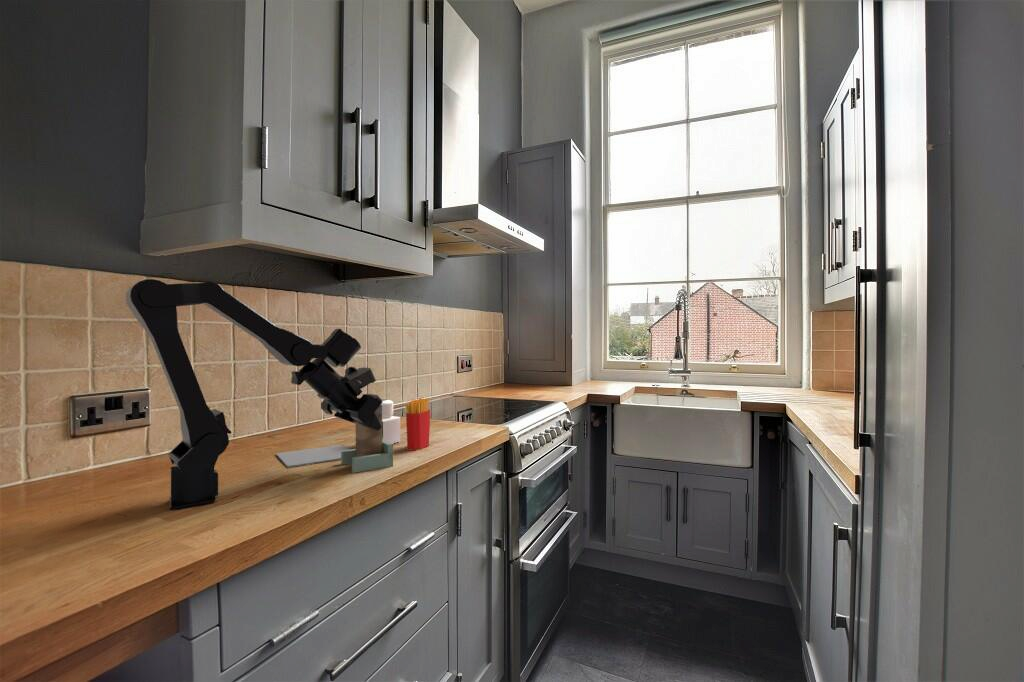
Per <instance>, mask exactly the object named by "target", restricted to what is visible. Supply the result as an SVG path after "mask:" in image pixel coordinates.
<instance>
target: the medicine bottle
mask: <svg viewBox="0 0 1024 682" xmlns="http://www.w3.org/2000/svg"><path fill="white" fill-rule="evenodd" d="M382 400H383V401H382V404H381V405H382V439H383V440H385V441H387V442H390V443H392V444H393V445H395V444H398V443H397V442H399V443H400V442H401V417H400V416H394V401H392V400H391V399H382ZM394 443H395V444H394Z"/></svg>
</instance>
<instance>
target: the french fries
mask: <svg viewBox="0 0 1024 682" xmlns="http://www.w3.org/2000/svg"><path fill="white" fill-rule="evenodd" d="M429 401H430V399H429V398H423V397H420V398H418V399H412V400H411V401H410V403H409V402H407V403H405V409H406V412H405V418H406V421H405V422H406V445H407V447H406V448H407V450H408V449H412V450H411V451H417V450H416V449H420V450H423V449H425V448H427V447H426V446H428V445H429V446H430V426H431V409H429V404H430V403H429ZM429 446H428V447H429ZM424 447H425V448H424ZM422 448H423V449H422Z"/></svg>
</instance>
